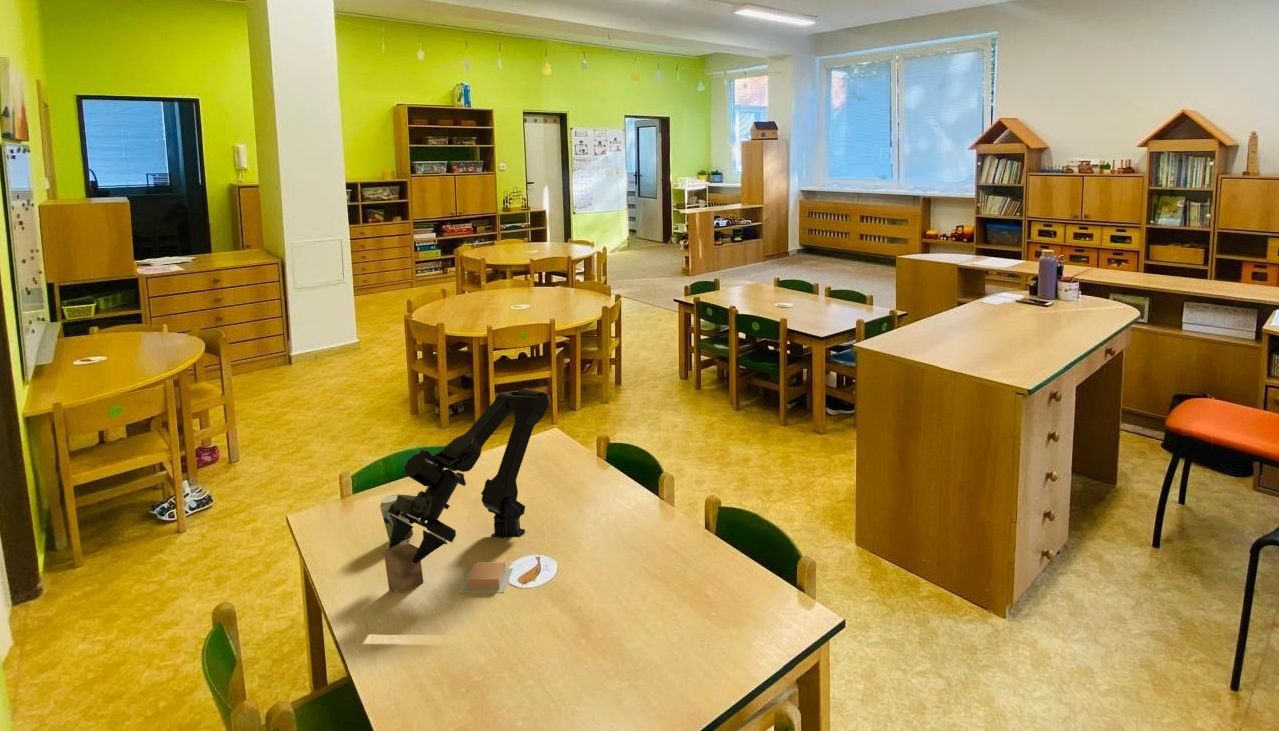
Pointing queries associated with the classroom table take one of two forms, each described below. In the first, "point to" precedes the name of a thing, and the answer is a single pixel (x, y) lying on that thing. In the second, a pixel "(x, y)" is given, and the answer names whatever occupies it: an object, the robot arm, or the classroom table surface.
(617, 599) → the classroom table surface
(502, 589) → the grey flat square slab
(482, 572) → the terracotta tile
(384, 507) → the beverage can
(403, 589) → the walnut pillar
